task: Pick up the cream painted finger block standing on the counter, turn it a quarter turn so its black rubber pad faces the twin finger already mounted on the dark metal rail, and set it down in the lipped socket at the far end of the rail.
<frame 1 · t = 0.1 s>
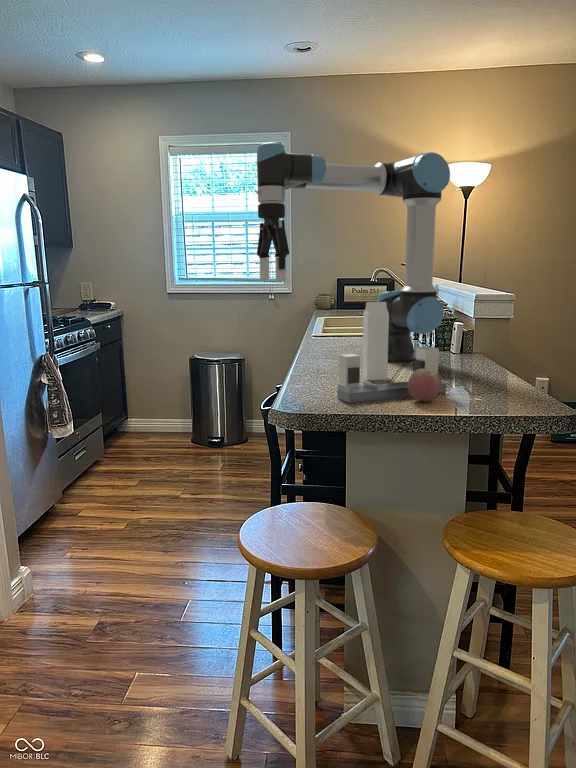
hand: (272, 281, 162), 28 cm above the countertop, fingers open, 13 cm apart
milk: (374, 378, 165), on the countertop
rail: (392, 395, 143), on the countertop
finger: (349, 388, 152), on the countertop
apple: (423, 402, 137), on the countertop
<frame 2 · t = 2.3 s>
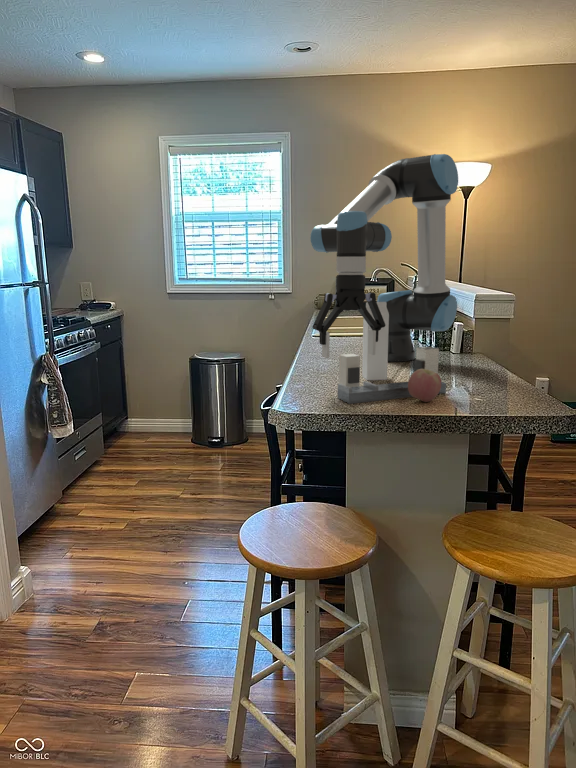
hand: (348, 355, 150), 9 cm above the countertop, fingers open, 13 cm apart
nothing on the countertop moved.
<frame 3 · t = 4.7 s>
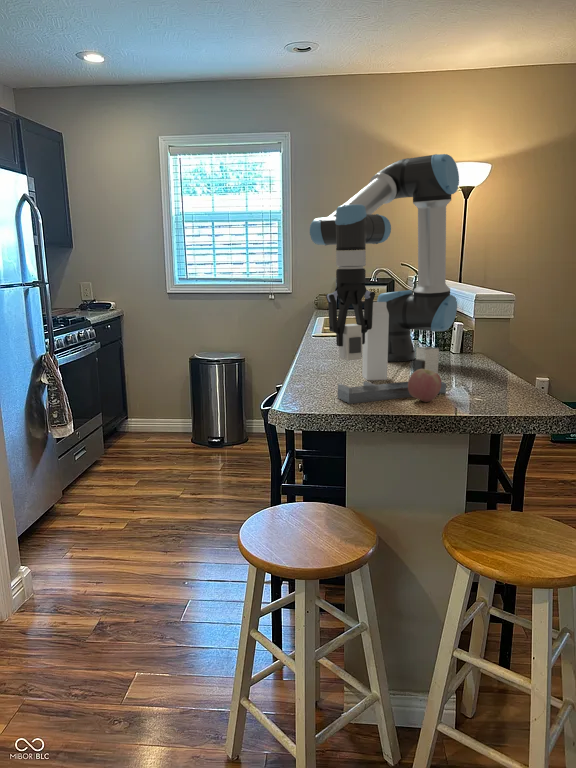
hand: (350, 357, 151), 8 cm above the countertop, fingers closed on finger, 4 cm apart
finger: (350, 358, 151), point 8 cm above the countertop, touching gripper
everything else where it was.
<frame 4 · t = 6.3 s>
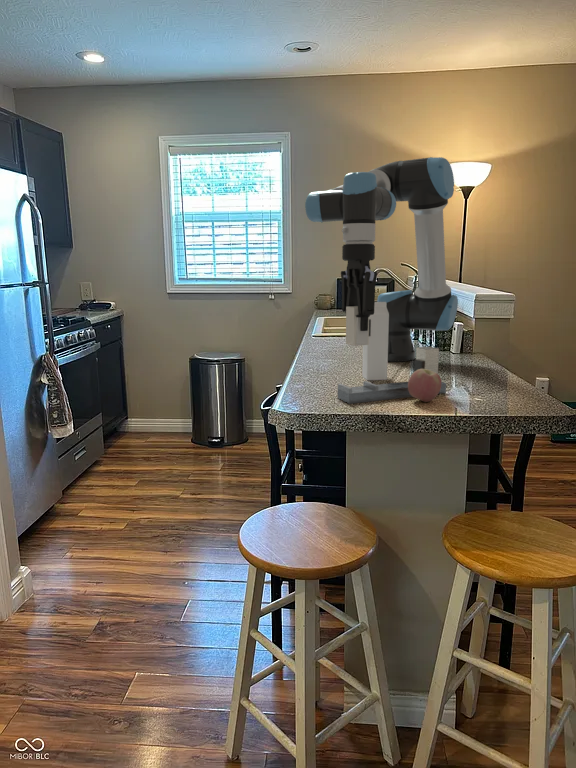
hand: (357, 343, 137), 14 cm above the countertop, fingers closed on finger, 4 cm apart
finger: (357, 344, 137), point 14 cm above the countertop, touching gripper
everything else where it was.
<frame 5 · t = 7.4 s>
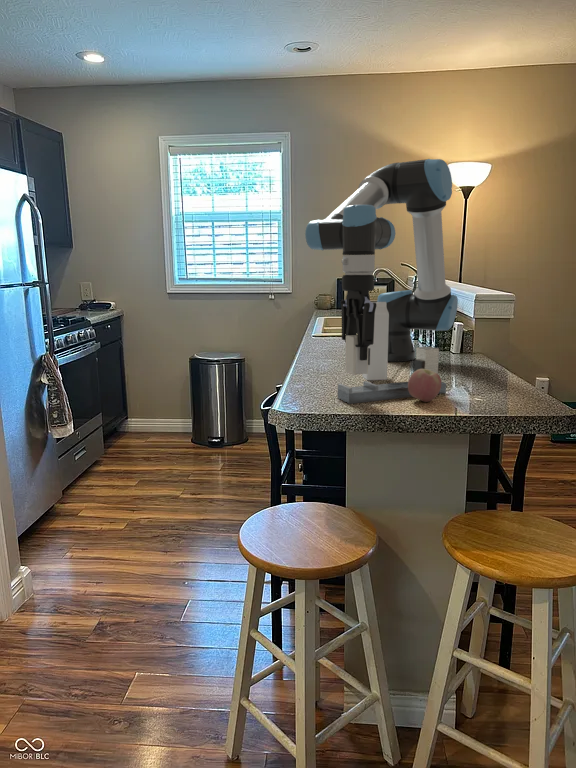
hand: (356, 371, 138), 7 cm above the countertop, fingers closed on finger, 4 cm apart
finger: (356, 372, 138), point 7 cm above the countertop, touching gripper
everything else where it was.
when the fingers open (3 cm above the countertop, at t = 8.4 s): finger stays where it is, resting on rail.
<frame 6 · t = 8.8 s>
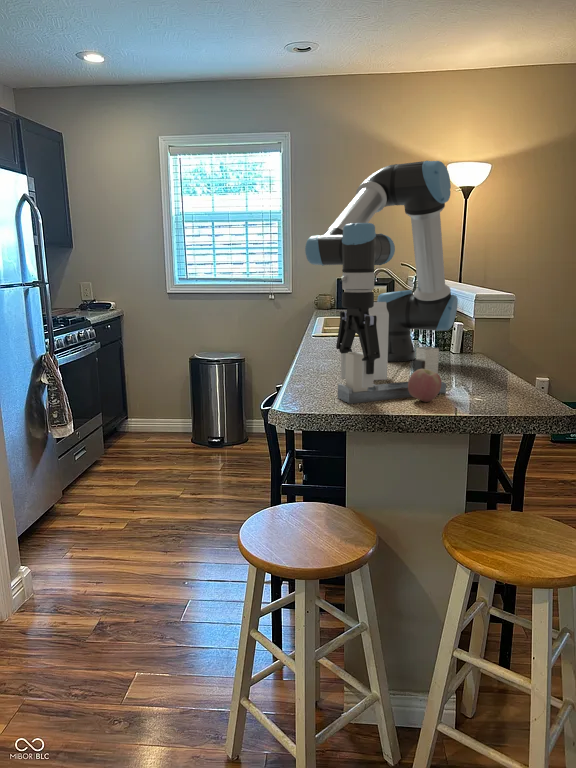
hand: (356, 382, 139), 4 cm above the countertop, fingers open, 10 cm apart
finger: (356, 389, 139), point 2 cm above the countertop, touching rail
everything else where it was.
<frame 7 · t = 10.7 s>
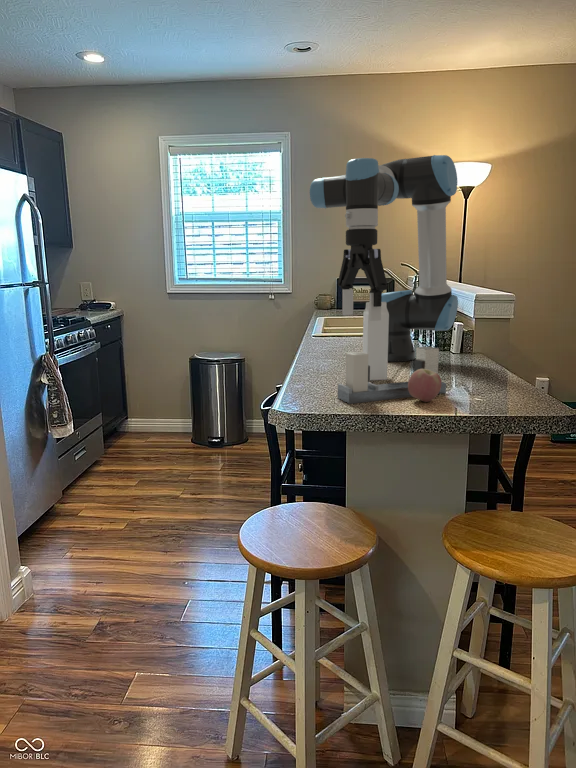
hand: (360, 317, 140), 20 cm above the countertop, fingers open, 13 cm apart
nothing on the countertop moved.
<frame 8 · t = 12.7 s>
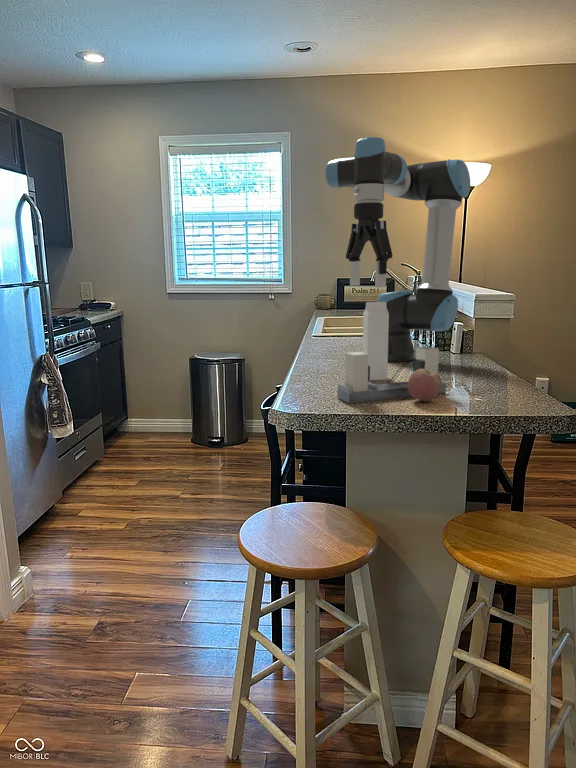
hand: (367, 286, 150), 27 cm above the countertop, fingers open, 13 cm apart
nothing on the countertop moved.
at the end: finger 0.1 cm from the target spot on the rail, point 2.5 cm above the rail's base; finger tilted 0°; the gripper is holding nothing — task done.
